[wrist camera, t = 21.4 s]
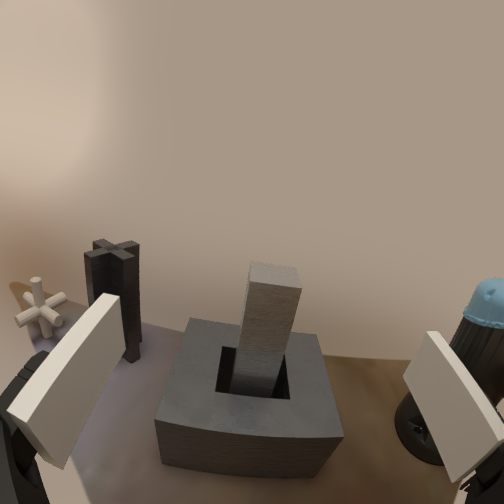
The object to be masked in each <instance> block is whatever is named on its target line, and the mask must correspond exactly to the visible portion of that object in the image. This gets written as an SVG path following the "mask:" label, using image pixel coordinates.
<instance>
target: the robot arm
mask: <svg viewBox="0 0 504 504" xmlns="http://www.w3.org/2000/svg"><path fill="white" fill-rule="evenodd" d="M463 315H464V316H463V318H462V320H461V322H460V325H459V327H458V329H457V331H456V332H455V335H454V336H453V338H452V340H451V342H450V344H449V345H448V344H447V342H446V341H445V340H444V339H443V338H442V336H441V335H440V334H439V332H434V331H432V332H430V331H429V332H427V331H426V333H425V335H424V337H423V339H422V341H421V343H420V345H419V347H418V349H417V351H416V353H415V355H414V357H413V359H412V360H411V362H410V364H409V366H408V368H407V369H406V371H405V373H404V375H403V378H404V380H405V382H406V384H407V386H408V388H409V390H410V391H409V392H408V393H407V395H406V396H405V397H404V399H403V400H402V402H401V403H400V405H399V406H398V408H397V411H396V415H395V424H396V429H397V432H398V435H399V437H400V439H401V440H402V442H403V443H404V445H405V446H406V447H407V448H408V450H409V451H411V452H412V453H413V454H414V455H415V456H417V457H418V458H420V459H422V460H424V461H426V462H429V463H432V464H437V465H445V468H446V470H447V472H448V475H449V477H450V480H451V483H454V482H457V481H459V480H461V479H464V478H465V477H467V476H468V475H469V474H470V473H471V472H472V471H474V470H475V471H476V474H475V475H473V476H472V477H471V478H470V479H469V480H467V481H466V482H465V483H464V484H463V485H461V487H460V489H459V490H462V489H463V488H464V487H466V486H467V485H468V484H470V486H468V487H467V488H466V489H465V490H464V491H466V492H468V494H467V497H466V501H465V504H504V420H503V418H502V416H501V415H500V413H499V412H497V409H496V406H497V404H498V403H499V402H500V401H501V399H502V398H504V278H488V279H485V280H483V281H482V282H480V283H479V285H478V286H477V287H476V289H475V291H474V294H473V296H472V298H471V300H470V302H469V304H468V306H467V307H466V308H465V310H464V312H463ZM125 350H126V347H125V340H124V332H123V324H122V316H121V306H120V296H115V295H111V294H106V293H103V294H102V295H101V296H100V297H99V298H98V299H97V300H96V301H95V302H94V303H93V305H92V306H91V307H90V308H89V309H88V310H87V311H86V312H85V313H84V314H83V316H82V317H81V318H80V319H79V320H78V321H77V322H76V323H75V325H74V326H73V327H72V328H71V329H70V330H69V331H68V333H67V334H66V335H65V336H64V337H63V338H62V340H61V341H60V342H59V343H58V344H57V346H56V347H55V348H54V349H53V350H52V352H51V353H49V352H46V351H44V350H42V351H41V352H39V353H37V354H36V355H34V356H33V357H31V358H30V360H29V361H28V362H27V363H26V364H25V365H24V368H23V369H21V370H20V372H19V373H18V374H17V376H16V377H15V378H14V379H13V380H12V382H11V383H10V384H9V385H8V387H7V388H6V389H5V390H4V392H3V393H2V395H1V396H0V504H50V503H49V500H48V497H47V495H46V492H45V489H44V486H43V482H42V479H41V476H40V473H39V469H38V466H37V463H36V460H35V458H34V457H35V455H36V453H38V454H39V455H40V456H41V457H42V458H43V460H44V461H46V462H48V463H50V464H52V465H54V466H56V467H58V468H60V469H62V470H63V469H64V466H65V464H66V462H67V460H68V458H69V456H70V454H71V452H72V449H73V447H74V445H75V443H76V441H77V439H78V437H79V435H80V433H81V431H82V429H83V427H84V425H85V423H86V421H87V419H88V417H89V415H90V413H91V412H92V410H93V408H94V406H95V404H96V402H97V400H98V398H99V396H100V395H101V393H102V391H103V389H104V387H105V385H106V383H107V382H108V380H109V378H110V376H111V374H112V373H113V371H114V369H115V367H116V366H117V364H118V362H119V360H120V359H121V357H122V355H123V353H124V352H125Z"/></svg>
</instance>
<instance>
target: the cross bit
mask: <svg viewBox="0 0 504 504" xmlns="http://www.w3.org/2000/svg"><path fill="white" fill-rule="evenodd" d="M84 262H85V275H86V285H87V293H88V302H89V308H90V307H91V306H92V305H93V303H94V302H95V301H96V300H97V299H98V298H99V297H100V296H101V295H102V294H103V293H106V294H111V295H115V296H120V306H121V316H122V324H123V332H124V340H125V347H126V350H125V352H124V353H123V355H122V356H123V357H124V358H125V359H126V360H127V361H129V362H130V363H133V362H135V361H136V360H138V359H140V351H139V342H141V341H142V335H141V318H140V291H139V244H138V243H136V242H134V241H128V242H123V243H119V244H116V245H114V244H112V243H110V242H108V241H107V240H105V239H100V240H97V241H93V250H92V251H89V252H85V253H84Z"/></svg>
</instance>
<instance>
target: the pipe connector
mask: <svg viewBox="0 0 504 504" xmlns="http://www.w3.org/2000/svg"><path fill="white" fill-rule="evenodd" d="M30 282H31V288H32V293H33V295H32V294H31V293H30V292H25V293H24V295H23V300H24V301H25V302H26V303H27V304H28V305H29V306H31V308H30V309H28V310H26V311H24V312H22V313H20V314H19V315H17V316H15V321H16V323H17V325H18V326H19V328H21V327H23V326H24V325H26V324H28V323H30V322H31V321H33V320H35V319H37V318H38V319H39V323H40V327H41V331H42V334H43V337H44V338H51V337H52V335H53V334H52V330H51V326H50V322H51V323H52V324H53V325H55V326H56V327H60V326H61V325H62V323H63V317H62V316H61V315H59V314H58V313H56V312H55V311H54V310H53V309H54V308H56V307H58V306H60V305H62V304H64V303H65V302H66V301H67V298H66V295H65V294H64V293H63V292H60V293H58V294H56V295H54V296H52V297H50V298H49V299H47V300H45V299H44V294H43V289H42V283H41V278H40V277H33V278H31V279H30Z"/></svg>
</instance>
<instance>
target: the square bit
mask: <svg viewBox="0 0 504 504" xmlns="http://www.w3.org/2000/svg"><path fill="white" fill-rule="evenodd" d="M301 291H302V286H301V283H300V280H299V277H298V274H297V271H296V268H293V267H286V266H279V265H272V264H265V263H258V262H252V261H251V263H250V269H249V275H248V281H247V287H246V294H245V299H244V305H243V311H242V317H241V323H240V329H239V335H238V341H237V347H236V353H235V359H234V365H233V371H232V377H231V383H230V389H229V394H234V395H242V396H251V397H261V398H271V395H272V392H273V389H274V386H275V383H276V379H277V376H278V373H279V370H280V366H281V363H282V360H283V356H284V353H285V349H286V346H287V343H288V339H289V335H290V332H291V328H292V325H293V321H294V317H295V314H296V310H297V306H298V302H299V299H300V295H301Z"/></svg>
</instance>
